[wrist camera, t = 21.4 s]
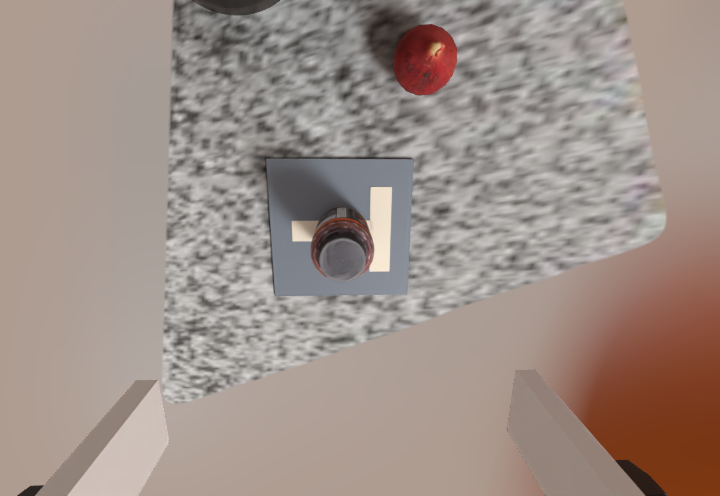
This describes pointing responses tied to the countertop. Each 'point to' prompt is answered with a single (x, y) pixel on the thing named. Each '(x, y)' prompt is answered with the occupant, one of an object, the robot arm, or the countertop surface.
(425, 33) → the onion
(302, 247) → the letter card
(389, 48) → the countertop surface
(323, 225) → the supplement bottle
